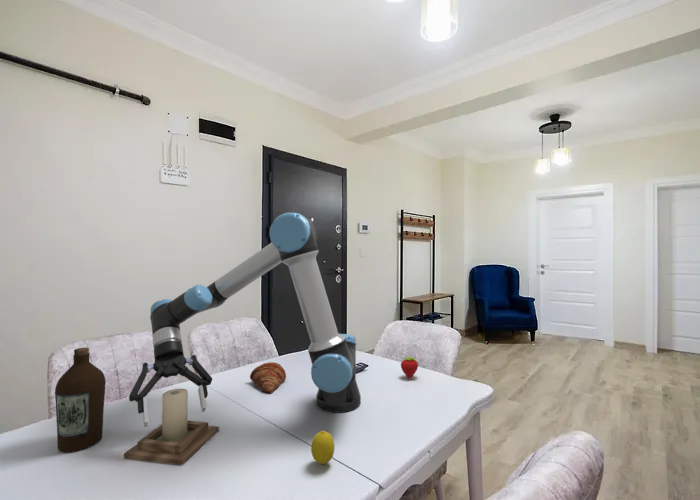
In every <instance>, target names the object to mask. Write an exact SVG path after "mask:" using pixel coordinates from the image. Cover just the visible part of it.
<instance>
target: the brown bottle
mask: <svg viewBox="0 0 700 500" xmlns="http://www.w3.org/2000/svg"><path fill="white" fill-rule="evenodd" d="M73 353H74V354H73V359H72V360H73V364H72V365H71V366H70V367H69V368H68V369H67V370H66V371H65V372H64V373H63V374H62V375H61V376H60V378H59V379H58V380H57V382H56V385H55V387H54V389H55V390H54V397H55V412H56V413H55V415H56V433H57V436H56V439H57V440H56V441H57V445H56V446H57V450H58V451H59V452H61V453H66V454H67V453H75V452H79V451H83V450H86V449H88V448H91V447H93V446H95V445H96V444H98V443H99V442H100V441H101V440H102V439H103V431H104V429H103V428H104V411H105V406H104V405H105V398H106V397H105V396H106V395H105V394H106V385H107V384H106V382H107V381H106V376H105V375H104V372H103V371H102V370H101V369H100V368H99V367H97V366H95V365H94V364H93V363H91V362H90V348H89V347H79V348H75V349H74V350H73Z"/></svg>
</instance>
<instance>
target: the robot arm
mask: <svg viewBox="0 0 700 500" xmlns="http://www.w3.org/2000/svg"><path fill="white" fill-rule="evenodd" d="M269 239H270V243H268V244H267V245H266V246H264V247H263V248H261V249H260V250H259V251H257V252H256V253H254V254H253V255H251V256H250V257H248V258H247V259H245V260H243V261H242V262H241V263H239V264H238V265H237V266H235V267H233V268H232V269H231V270H229V271H228V272H226V273H225V274H224V275H221V276H220V277H219V278H217V279H216V280H214V282H211V284H209V285H208V286H205V285H203V284H196V285H194V286H192V287H190V288H188V289H187V290H186V291H184V292H183V293H181V294H179V296H177V297H175V298H174V299H168V298H164V299H161V300H156V301H154V303H153V304H152V305H151V307H150V316H149V317H150V318H149V319H150V323H151V332H152V344H153V345H152V346H153V359H154V363H149V364H148V362H143V363H142V368H141V373H140V374H139V376H138V378H137V380H135V381H136V382H135V383H134V386H133V387H132V390H131V391H130V393H129V398H128V400H129V402H136V403H137V412H138V414H142V415H143V417H142V418H143V427H144V428H145V427H148V426H149V410H148V398H147V395H148V394H149V393H150V392H151V390H153V388H154V386H156V384H157V383H158V382H159V381H160V380H161V379H162V378H164V379H166V378H170V377H177V376H178V375H180V376H181V377H184V378H186V379H188V381H190V382H192V383H193V384H194V385H196V386H197V387H198V389H197V391H198V398H199V403H200V409H201V410H200V411H201V413H204V412H206V409H207V404H206V399H207V398H208V395H209V392H208V386H210V385H211V384H212V383H213V382H212V381H213V377H212V376H211V375H210V373H208V372H207V369H205V368H204V367H203V365H202V364H201V363H200V362H199V361H198V358H197V355H195V354H193V355H191V357H187V358H186V357H185V355H184V354H185V352H184V348H183V341H182V340H183V339H182V335H181V327H180V325H181V324H182V323H184V322H186V321H187V320H188V319H190V318H192V317H193V316H195V315H197V314H199V313H200V314H201V313H202V312H205V311H208V310H211V309H215V308H218V307H220V306H222V305H223V304H224V303H225V302H226V301H227V300H228V299H229V298H231V297H232V296H234V295H235V294H237V293H238V292H240V291H242V289H244V288H246V287H247V286H249V285H250V284H252V283H254V282H255V281H256V280H258V279H259V278H260V277H262V276H264V275H265V274H267V273H268V272H269V271H271V270H273V269H274V268H275V267H277V266H278V265H280V264H281V263H282V264H284V265H286V266H287V267H288V270H289V273H290V277H291V279H292V282H293V286H294V289H295V293H296V296H297V300H298V303H299V307H300V311H301V313H302V316H303V321H304V323H305V327H306V330H307V333H308V336H309V339H310V340H309V341H310V345H309V346H308V348H307V351H308V354H309V358H310V362H311V368H310V369H311V371H310V372H311V373H310V375H311V380H312V382H313V383H314V385H315V387H317V389H318V390H317V392H316V395H315V404H316V406H317V407H318V408H319V409H320V410H323V411H326V412H331V413H346V412H350V411H353V410H355V409H358V407H360V405H361V402H362V398H361V392H360V390H359V386H358V383H357V378H356V377H357V375H356V371H357V369H356V368H357V367H356V364H357V362H356V359H357V358H356V357H357V355H356V351H357V350H356V348H357V347H356V346H357V342H356V340H357V339H356V337H355V336H354V335H352V334H347V333H339V331H338V328H337V327H338V326H337V325H336V321H335V318H334V315H333V314H334V313H333V311H332V308H331V305H330V304H331V303H330V302H329V297H328V294H327V291H326V288H325V285H324V281H323V279H322V275H321V271H320V268H319V265H318V261H317V256H318V254H319V252H320V251H319V247H318V245H317V239H318V230H317V227H316V225H315V223H314V222H313V221H312V220H311V219H309V218H307V216H306V217H305V216H304V215H302V214H301V213H298V212H285V213H282V214H280V215H278V216H277V217H276V218H275V219H274V220H273V222H272V223H271V225H270V229H269ZM186 364H188V365H189V366H191V367H192V368H193V370H194V371H195V372H196V373H195V372H193V371H192V370H191V369H189V367H187V366H186ZM152 370H154V371H155V373H154V375H153V376H152V377H151V379H150V380H149V381H148V383H147V384H146V385H145V386H144V387H143V388H142V390H141V391H140V389H141V387H142V386H143V383H144V382H145V379H146V377H147V374H148V373H150V372H151V371H152ZM197 374H198V375H197ZM139 391H140V392H139Z"/></svg>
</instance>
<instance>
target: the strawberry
mask: <svg viewBox="0 0 700 500" xmlns="http://www.w3.org/2000/svg"><path fill="white" fill-rule="evenodd" d="M416 359H417V358H416V357H412V355H411V354H409V356H406V358H404V359H402V361H401V362H400V367H401V370H402V372H403V373H404V375H405V376H406V377H407V378H408V379H409V378H410V379H412V378H413V376H414V375H415V374H416V372H417V370H418V368H419V363H418V361H417V360H416Z"/></svg>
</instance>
